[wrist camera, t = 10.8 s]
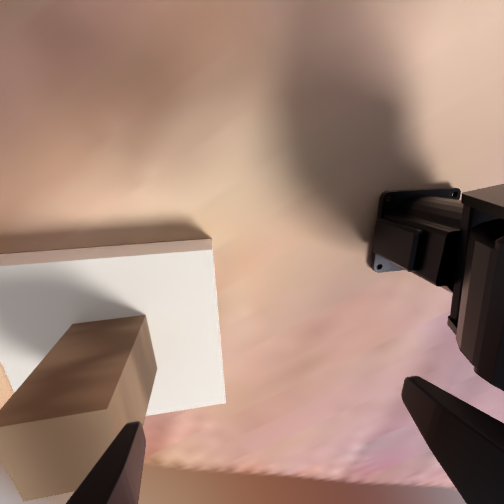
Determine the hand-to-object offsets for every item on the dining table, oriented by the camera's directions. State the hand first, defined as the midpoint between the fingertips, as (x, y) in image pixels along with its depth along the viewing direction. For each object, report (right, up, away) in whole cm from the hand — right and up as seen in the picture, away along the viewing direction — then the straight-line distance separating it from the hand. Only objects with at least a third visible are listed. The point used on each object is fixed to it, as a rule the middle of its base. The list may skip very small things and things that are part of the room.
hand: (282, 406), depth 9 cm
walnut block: (-10, -1, +9) cm, 14 cm away
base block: (-11, -1, +11) cm, 16 cm away
